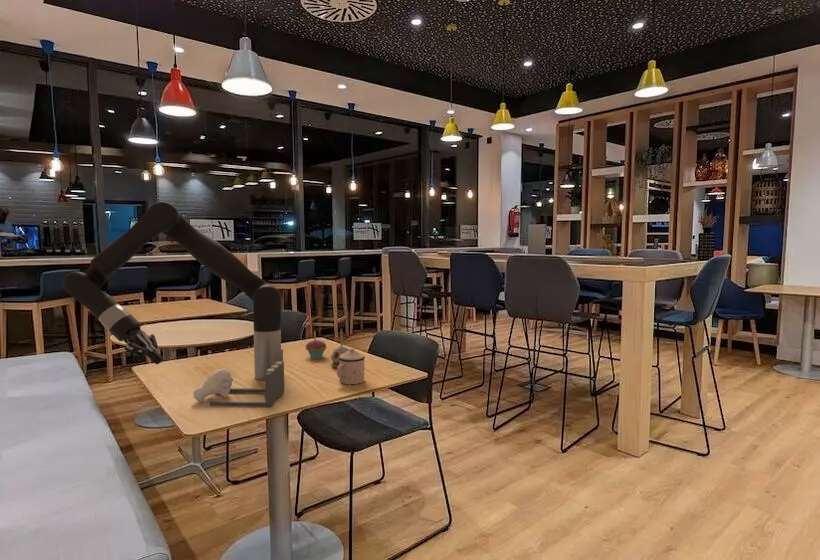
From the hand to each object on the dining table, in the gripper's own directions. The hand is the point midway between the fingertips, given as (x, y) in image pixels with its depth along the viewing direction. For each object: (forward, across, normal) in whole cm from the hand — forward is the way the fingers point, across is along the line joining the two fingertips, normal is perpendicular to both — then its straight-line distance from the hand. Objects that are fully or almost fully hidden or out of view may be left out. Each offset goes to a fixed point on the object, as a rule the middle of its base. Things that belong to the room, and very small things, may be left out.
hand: (160, 361), depth 143 cm
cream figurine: (+19, 0, -3) cm, 20 cm away
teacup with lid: (+48, +18, -31) cm, 60 cm away
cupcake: (+34, +51, -18) cm, 64 cm away
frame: (+27, 0, -11) cm, 29 cm away
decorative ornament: (+43, +38, -27) cm, 64 cm away
